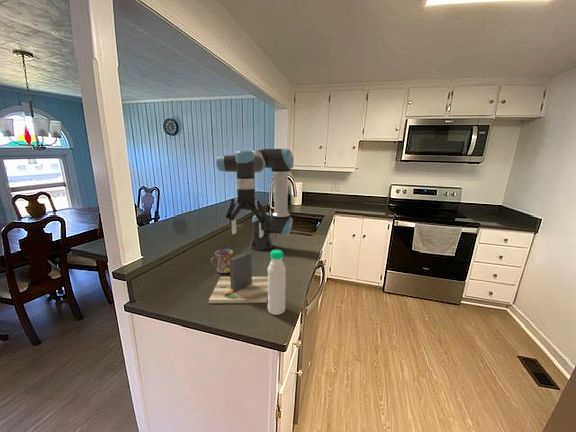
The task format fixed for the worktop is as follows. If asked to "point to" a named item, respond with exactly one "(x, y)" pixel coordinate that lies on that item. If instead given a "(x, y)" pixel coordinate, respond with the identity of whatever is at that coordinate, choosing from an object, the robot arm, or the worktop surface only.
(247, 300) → the beige flat board
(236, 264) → the gray square slab
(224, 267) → the mug
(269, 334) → the worktop surface
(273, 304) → the water bottle
